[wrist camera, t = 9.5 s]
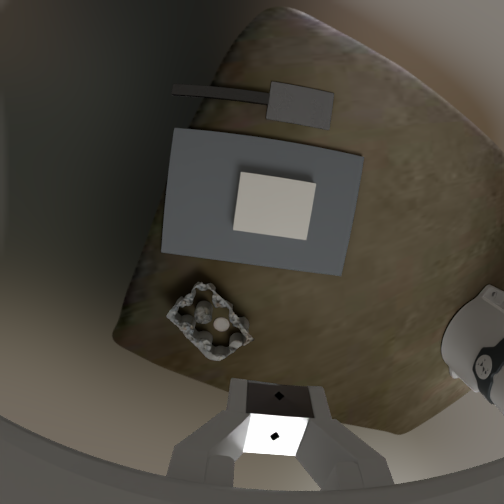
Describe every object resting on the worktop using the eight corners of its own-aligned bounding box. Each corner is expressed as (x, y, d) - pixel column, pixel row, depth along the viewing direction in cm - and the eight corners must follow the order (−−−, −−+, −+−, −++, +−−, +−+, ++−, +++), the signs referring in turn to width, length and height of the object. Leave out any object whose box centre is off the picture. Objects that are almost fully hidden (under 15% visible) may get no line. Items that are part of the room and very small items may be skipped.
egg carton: (257, 327, 45) (258, 342, 41) (217, 353, 46) (215, 370, 43) (208, 271, 43) (204, 283, 39) (168, 302, 44) (161, 316, 40)
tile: (241, 171, 39) (313, 182, 39) (233, 227, 40) (304, 237, 41) (240, 171, 37) (316, 183, 37) (232, 229, 39) (306, 240, 39)
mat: (362, 157, 39) (364, 157, 38) (339, 274, 43) (341, 276, 42) (175, 128, 37) (174, 127, 37) (162, 250, 42) (161, 252, 41)
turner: (333, 93, 37) (335, 92, 36) (328, 130, 38) (330, 129, 37) (177, 72, 35) (175, 70, 35) (170, 109, 37) (169, 107, 36)
